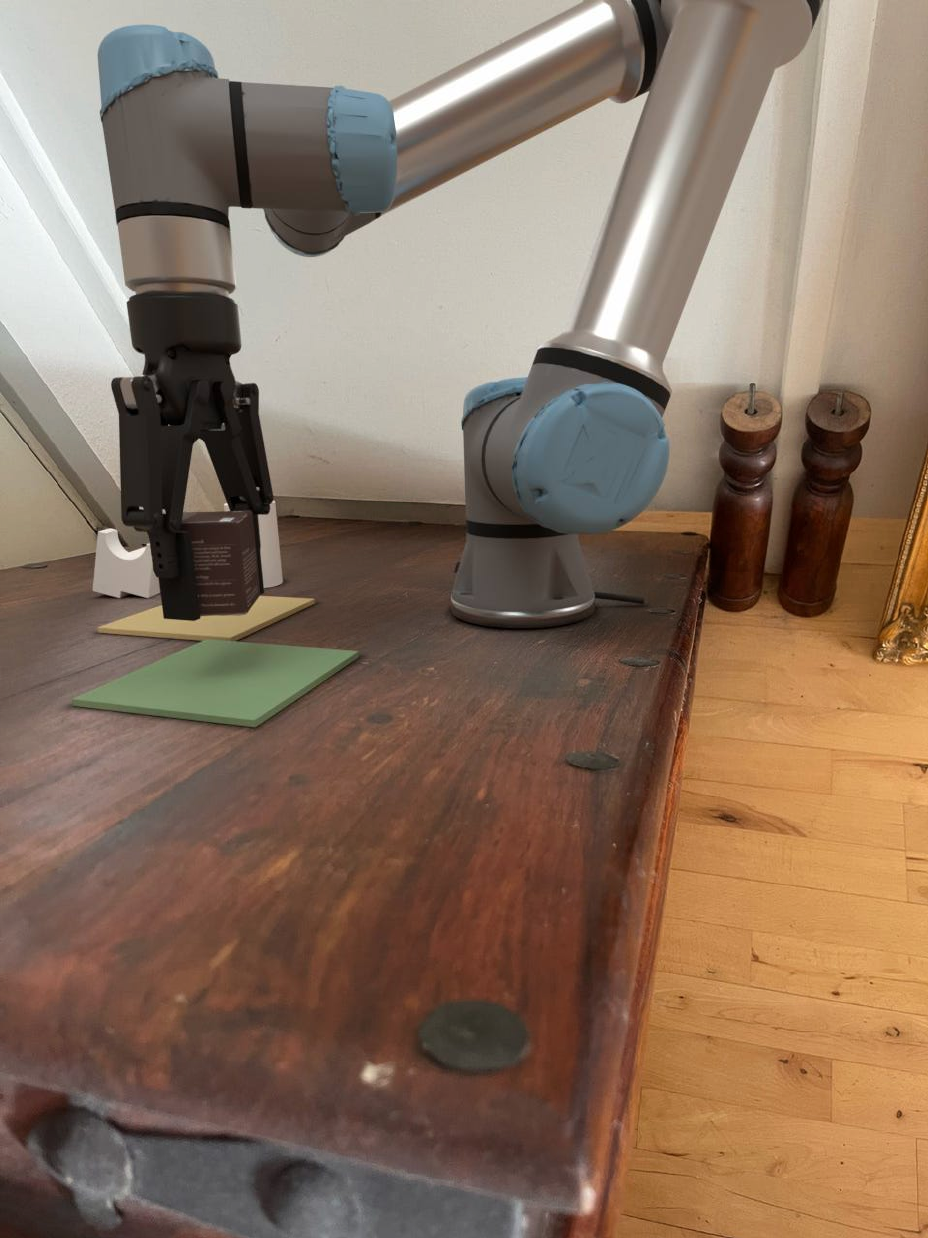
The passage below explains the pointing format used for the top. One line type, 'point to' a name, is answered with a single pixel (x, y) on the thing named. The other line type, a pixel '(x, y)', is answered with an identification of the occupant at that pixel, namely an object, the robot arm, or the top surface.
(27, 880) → the top surface
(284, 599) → the cream mat
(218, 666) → the green mat
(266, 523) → the candle
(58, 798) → the top surface
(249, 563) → the box
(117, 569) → the bracket
